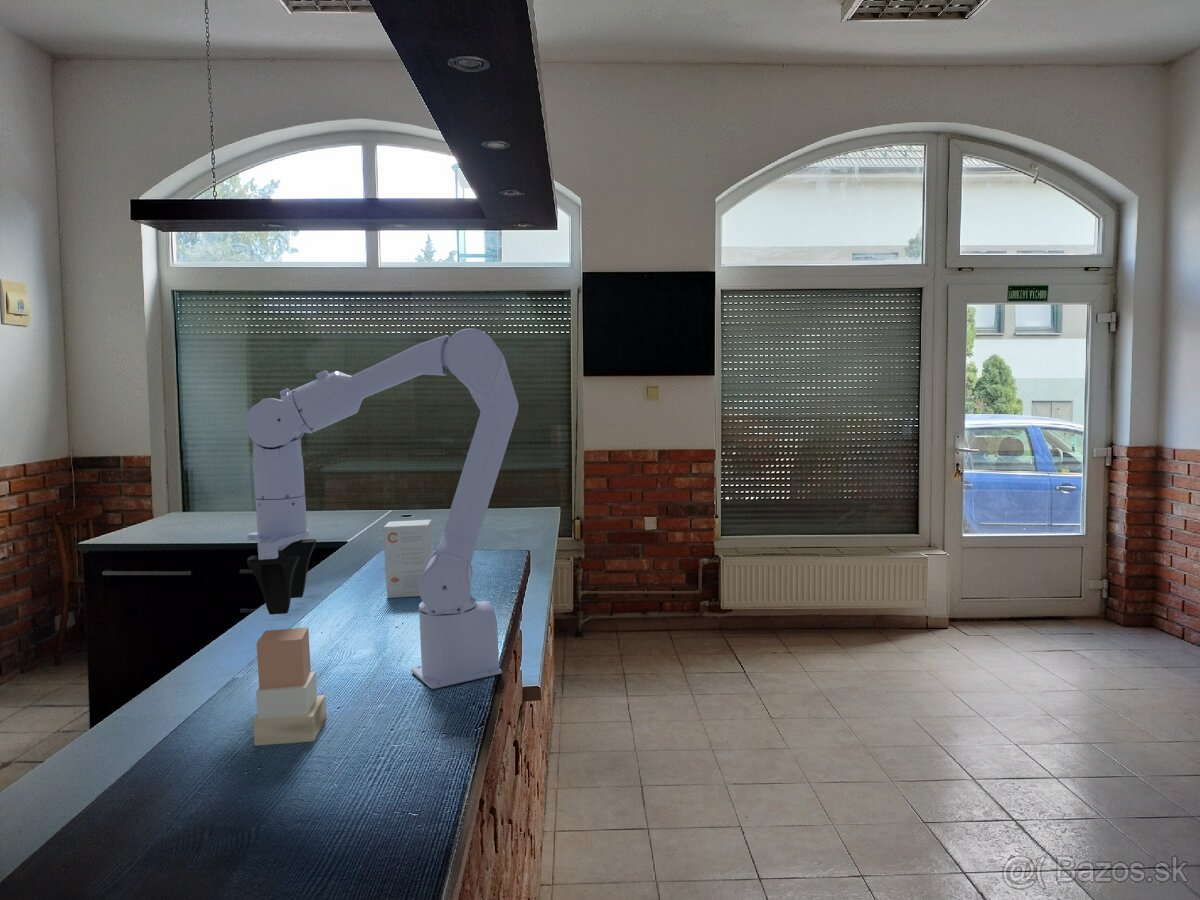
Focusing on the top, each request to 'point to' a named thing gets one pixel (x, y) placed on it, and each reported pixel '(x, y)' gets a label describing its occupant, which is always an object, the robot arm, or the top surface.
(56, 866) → the top surface
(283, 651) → the terracotta block
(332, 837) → the top surface
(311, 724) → the tower base slab
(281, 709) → the tower top slab
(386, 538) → the small box
